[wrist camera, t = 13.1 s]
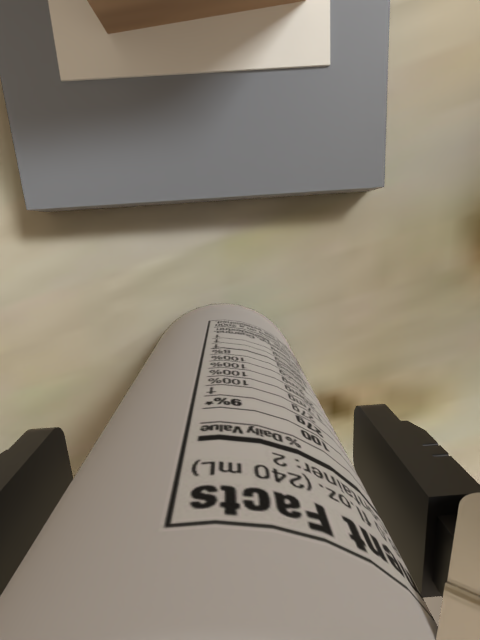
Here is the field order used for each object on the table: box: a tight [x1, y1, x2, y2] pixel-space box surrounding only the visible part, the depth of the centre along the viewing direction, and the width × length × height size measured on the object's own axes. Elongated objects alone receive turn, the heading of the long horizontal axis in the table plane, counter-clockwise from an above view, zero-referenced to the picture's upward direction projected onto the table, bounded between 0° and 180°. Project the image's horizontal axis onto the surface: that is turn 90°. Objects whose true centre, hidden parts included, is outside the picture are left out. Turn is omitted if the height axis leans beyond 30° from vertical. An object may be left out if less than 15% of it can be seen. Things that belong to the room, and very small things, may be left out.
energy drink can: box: [0, 303, 438, 640], centre depth 9 cm, size 6×6×15 cm
